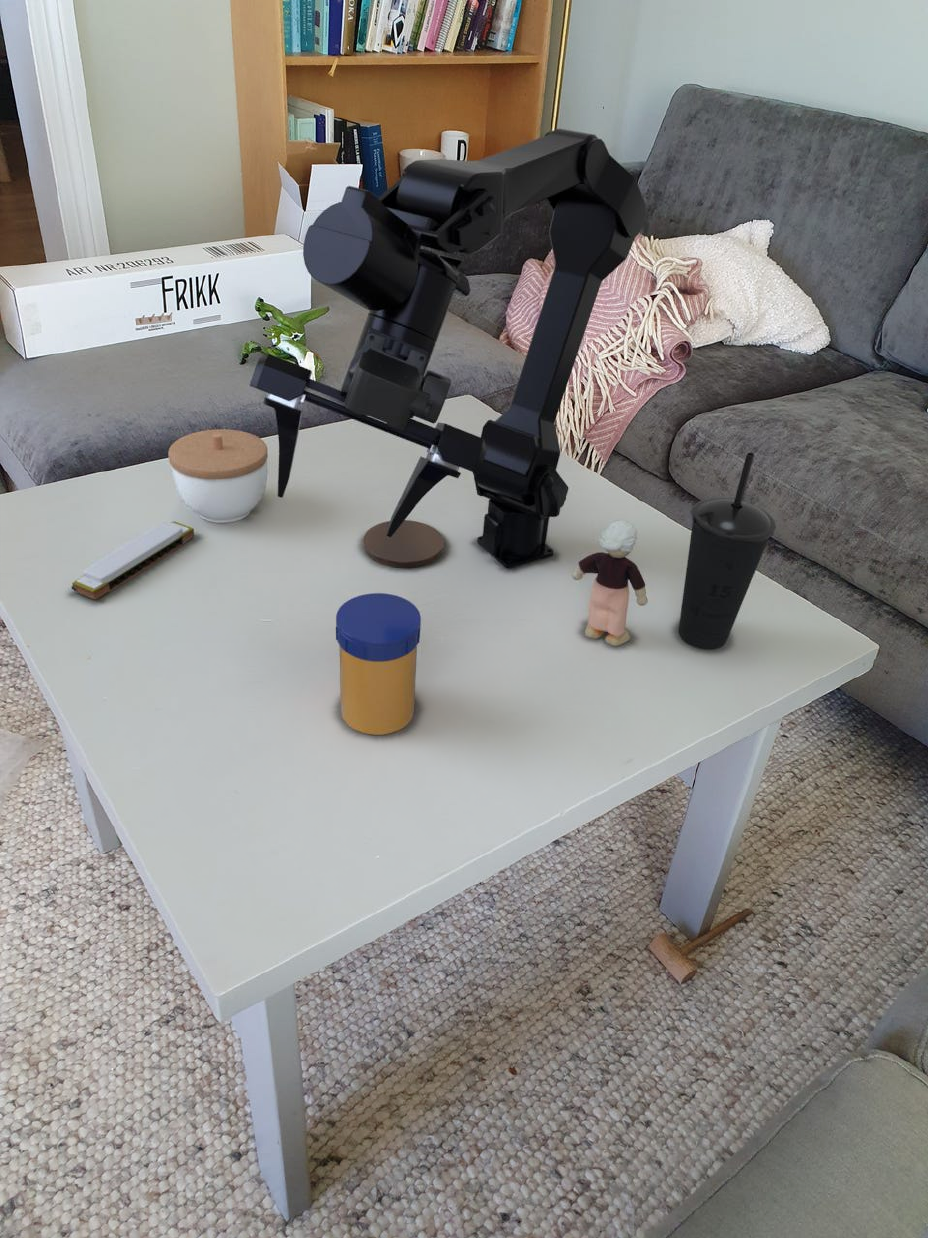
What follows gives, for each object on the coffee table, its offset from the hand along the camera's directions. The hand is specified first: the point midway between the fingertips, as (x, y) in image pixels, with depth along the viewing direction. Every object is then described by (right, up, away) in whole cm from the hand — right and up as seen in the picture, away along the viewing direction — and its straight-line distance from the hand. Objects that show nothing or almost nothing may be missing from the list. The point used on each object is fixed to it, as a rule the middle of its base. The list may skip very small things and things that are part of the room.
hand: (334, 516), depth 74 cm
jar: (+3, -16, +6) cm, 18 cm away
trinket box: (-17, +4, +32) cm, 37 cm away
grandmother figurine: (+24, -10, +17) cm, 31 cm away
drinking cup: (+34, -10, +18) cm, 40 cm away
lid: (+4, -8, 0) cm, 9 cm away
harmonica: (-24, -3, +22) cm, 33 cm away
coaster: (+4, 0, +28) cm, 29 cm away
